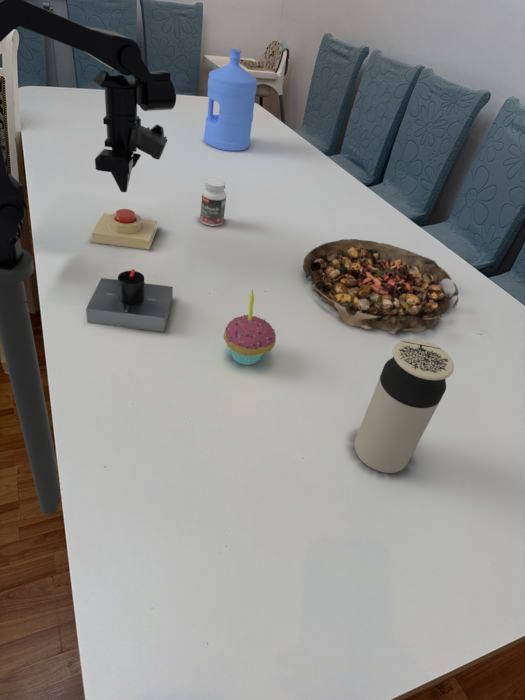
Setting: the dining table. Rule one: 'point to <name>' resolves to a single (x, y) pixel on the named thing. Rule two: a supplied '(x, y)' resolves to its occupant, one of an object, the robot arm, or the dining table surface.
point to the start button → (125, 216)
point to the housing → (125, 232)
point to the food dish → (379, 285)
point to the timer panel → (130, 307)
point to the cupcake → (249, 337)
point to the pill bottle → (213, 202)
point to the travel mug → (402, 404)
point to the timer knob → (131, 287)
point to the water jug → (230, 106)
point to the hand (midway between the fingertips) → (123, 191)
